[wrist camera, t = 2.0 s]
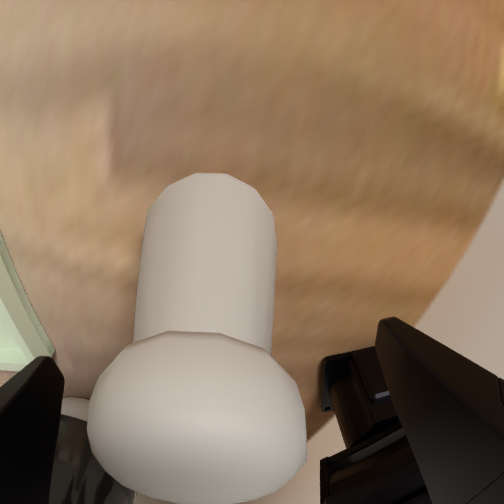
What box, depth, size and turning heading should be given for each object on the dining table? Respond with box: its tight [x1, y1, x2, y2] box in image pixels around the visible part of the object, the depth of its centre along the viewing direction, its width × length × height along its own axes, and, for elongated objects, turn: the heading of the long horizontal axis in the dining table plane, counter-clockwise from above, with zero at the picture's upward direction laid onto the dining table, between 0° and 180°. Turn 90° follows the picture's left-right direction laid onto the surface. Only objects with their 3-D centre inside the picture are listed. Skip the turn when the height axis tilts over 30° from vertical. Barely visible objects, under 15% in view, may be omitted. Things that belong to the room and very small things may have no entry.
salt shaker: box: [87, 173, 307, 504], centre depth 10 cm, size 6×6×13 cm
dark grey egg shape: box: [49, 397, 137, 504], centre depth 16 cm, size 10×10×15 cm
